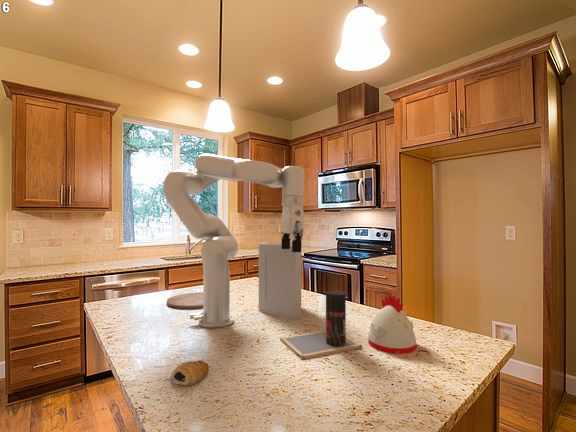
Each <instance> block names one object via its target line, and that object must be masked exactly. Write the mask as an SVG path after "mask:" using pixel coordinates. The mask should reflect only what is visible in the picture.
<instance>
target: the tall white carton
mask: <svg viewBox="0 0 576 432" xmlns="http://www.w3.org/2000/svg"><path fill="white" fill-rule="evenodd" d="M281 244H282V242H261V243H260V242H259V243H258V312H262V313H267V314H271V315H275V316H279V317H283V318H287V319H292V320H296V319H298V318H301V317H302V251H301V252H292V242H290V249H281Z"/></svg>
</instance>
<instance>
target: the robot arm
mask: <svg viewBox="0 0 576 432" xmlns="http://www.w3.org/2000/svg"><path fill="white" fill-rule="evenodd" d="M194 168H195V170H196V171H195V172H191V171H189V170H183V169H176V170H175V169H174V170H172V171H170V172H169V173H167V175H166V176H165V178H164V181H163V194H164V197H165V199H166V201H167V203H168V205H169V206H170V207H171V209H172V210H173V211H174V212H175V214H176V215H177V216H178V218H179V219H180V220H179V221H181V222H182V224H183V225H184V226H185V229H187V231H188V232H189V233H190V235H191V236H192V238H195V239H197V240H204V239H206V240H205V241H204V243H202V247H201V248H200V249H201V251H200V253H201V254H200V256H201V261H202V270H203V272H202V273H203V274H202V275H203V277H202V280H203V290H202V292H203V308H201V311H199V312H197V313H189V319H190V320H194V321H198V324H199V326H200V327H204V328H210V329H211V328H213V329H215V328H223V327H226V326H227V327H228V326H230V325H232V324H233V323H234V322H235V319H234V316H232V315H230V314H231V313H230V311H231V309H230V307H231V305H230V303H231V301H230V299H231V297H230V296H231V295H230V292H231V290H230V289H231V286H230V285H231V281H230V280H231V279H230V277H231V275H230V265H229V260H231V259H232V258H233V259H234V257H236V255H237V253H239V252H238V251H239V243H238V241H237V240H236V237H234V236H233V234H232V232H231V231H230V230H229V228H228V227H227V225H226V224H225V223H224V222H223V220H222V219H221V218H219V217H218V216H216V215H215V214H211V213H210V214H208V213H206V212H205V211H204V210H203V209H202V208H201V207H200V205H199V203H198V202H197V201H196V200H195V199H194V198H193V197H192V196H191V195H197V194H198V195H199V194H201V193H203V192H205V190H207V189H208V188H209V187H211V186H212V185H215V184H217V182H218V181H220V180H223V181H228V182H233V183H234V182H235V183H236V182H248V183H253V184H258V185H264V186H267V187H269V188H272V189H277V188H282V190H281V191H282V192H281V206H282V213H281V214H282V215H281V227H280V228H281V231H280V232H281V236H280V237H281V243H282V244H281V249H290V243H292V252H301V253H302V240H303V236H304V235H303V234H304V233H305V213H304V194H305V193H304V190H305V187H304V186H305V170H304V168H303V167H302V166H298V165H288V166H285V167H283V168H282V167H278V166H276V165H275V164H272V163H270V162H266V161H259V160H253V159H243V158H236V157H230V156H229V157H228V156H225V155H224V156H223V155H217V154H212V153H202V154H200V155H198V157H197V158H196V159H195V162H194ZM291 235H292V238H293V239H292V241H291V238H290V237H291Z"/></svg>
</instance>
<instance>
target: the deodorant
mask: <svg viewBox="0 0 576 432" xmlns="http://www.w3.org/2000/svg"><path fill="white" fill-rule="evenodd" d="M346 295H347V294H346V292H345V291H341V290H328V291H326V292H325V331H326V343H327V344H328V345H331V346H343V345H345V344H346V336H347V335H346V332H347V329H346V328H347V327H346V323H347V322H346V321H347V320H346V318H347V317H346V316H347V315H346V312H347V311H346V309H347V308H346V307H347V306H346V303H347V302H346Z"/></svg>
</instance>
